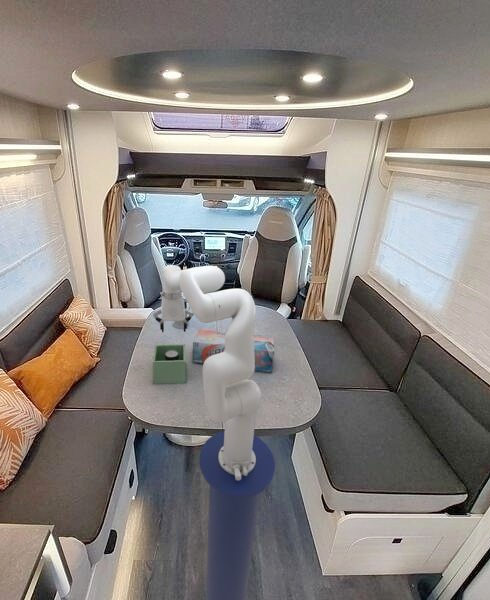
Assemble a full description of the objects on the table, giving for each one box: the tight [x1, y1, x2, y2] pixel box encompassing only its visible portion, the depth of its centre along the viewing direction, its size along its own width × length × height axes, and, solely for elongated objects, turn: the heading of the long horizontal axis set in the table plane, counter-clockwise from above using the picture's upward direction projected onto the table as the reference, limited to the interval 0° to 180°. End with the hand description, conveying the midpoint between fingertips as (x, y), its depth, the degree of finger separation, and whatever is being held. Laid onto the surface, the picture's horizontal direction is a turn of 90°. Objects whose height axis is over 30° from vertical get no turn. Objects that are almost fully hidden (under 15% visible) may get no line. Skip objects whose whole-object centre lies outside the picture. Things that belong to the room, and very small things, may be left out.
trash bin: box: [152, 343, 187, 384], centre depth 149 cm, size 15×15×12 cm
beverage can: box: [165, 350, 179, 361], centre depth 147 cm, size 7×7×12 cm
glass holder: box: [173, 301, 195, 329], centre depth 196 cm, size 9×14×15 cm, turn 105°
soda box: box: [191, 329, 275, 374], centre depth 160 cm, size 41×14×13 cm, turn 80°
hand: (173, 330), depth 139 cm, fingers open, 9 cm apart
